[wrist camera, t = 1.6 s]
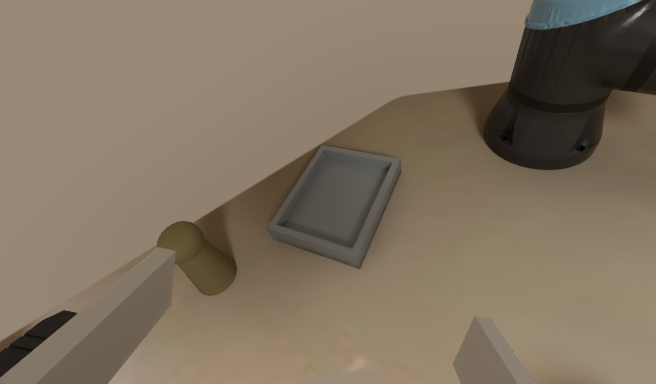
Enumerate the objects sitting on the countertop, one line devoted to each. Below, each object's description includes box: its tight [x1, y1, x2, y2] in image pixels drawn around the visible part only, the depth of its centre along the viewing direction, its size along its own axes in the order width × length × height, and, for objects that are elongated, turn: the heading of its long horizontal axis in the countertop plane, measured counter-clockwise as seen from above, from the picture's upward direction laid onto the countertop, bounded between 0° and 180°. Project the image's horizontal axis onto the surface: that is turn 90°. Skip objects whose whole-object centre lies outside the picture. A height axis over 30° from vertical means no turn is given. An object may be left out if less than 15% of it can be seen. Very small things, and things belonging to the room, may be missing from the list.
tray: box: [267, 145, 401, 269], centre depth 47 cm, size 18×14×3 cm
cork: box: [157, 221, 237, 296], centre depth 40 cm, size 6×6×11 cm
